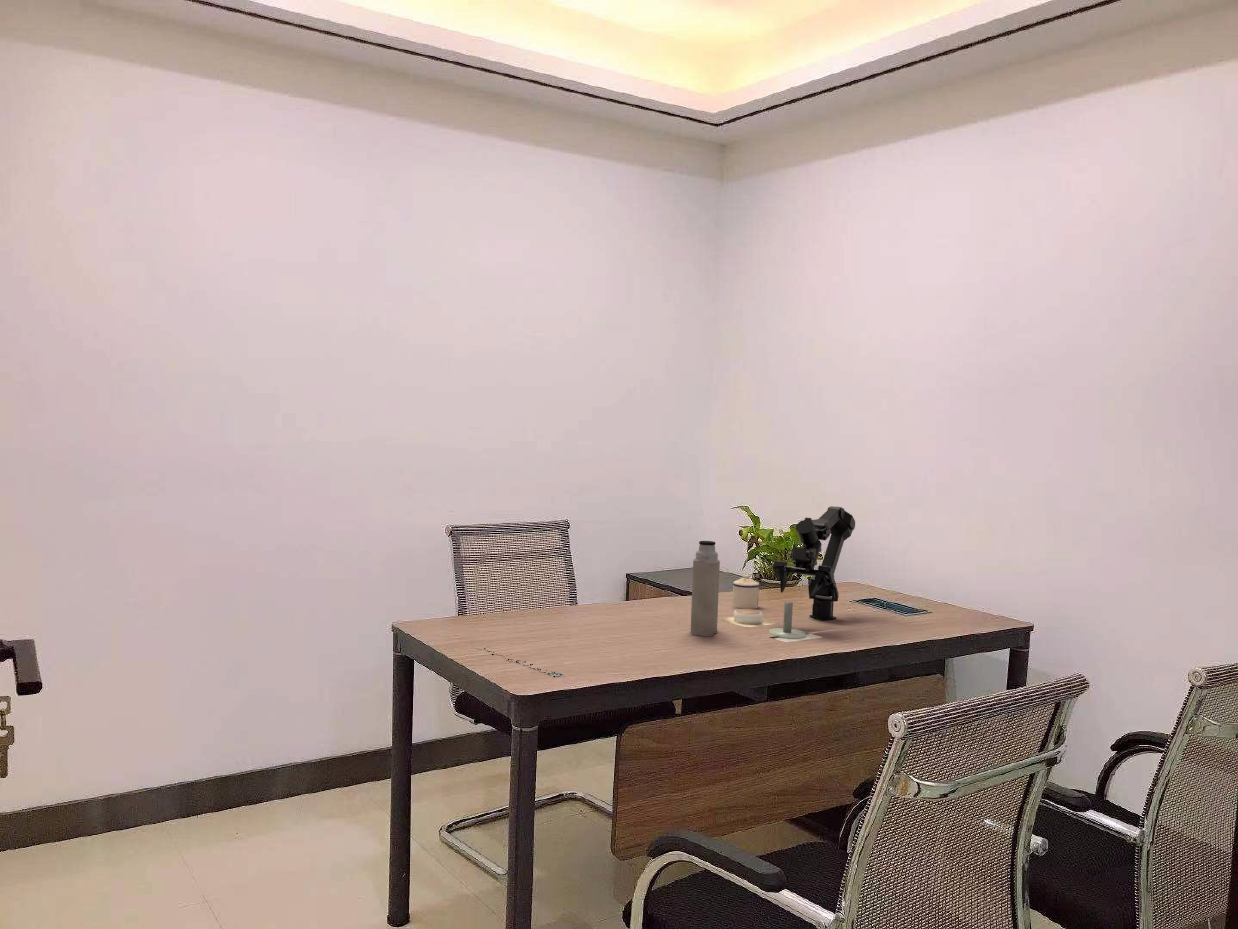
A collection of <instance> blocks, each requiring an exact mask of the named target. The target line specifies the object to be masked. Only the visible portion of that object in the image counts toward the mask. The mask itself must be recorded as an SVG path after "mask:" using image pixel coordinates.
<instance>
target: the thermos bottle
mask: <svg viewBox="0 0 1238 929" xmlns="http://www.w3.org/2000/svg"><path fill="white" fill-rule="evenodd" d="M698 544H699V546H698V550H697V551H696V552H695V555H694V556H695V558H693V562H692V580H691V582H692V587H691V614H690V633H691V635H694V634H695V635H694V636H699V637H712V636H714V635H716V634H717V632H718V619H719V618H718V613H719V612H718V611H719V592H720V590H719V589H720V588H719V587H720V567H721V564H720V563H721V562H720V561H721V560H719V559H718V556H719V554H718V552H717V551H716V541H712V540H700V541H698Z"/></svg>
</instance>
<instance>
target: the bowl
mask: <svg viewBox="0 0 1238 929" xmlns="http://www.w3.org/2000/svg"><path fill="white" fill-rule="evenodd" d="M733 617H734V621H735V622H737V623H742V624H760V623H762V619H763V611H761V610H758V609H743V608H738V609H734V610H733Z"/></svg>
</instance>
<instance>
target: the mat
mask: <svg viewBox="0 0 1238 929" xmlns="http://www.w3.org/2000/svg"><path fill="white" fill-rule="evenodd" d="M804 632H805V631H804ZM805 633H806V636H805V637H804V638H799V639H786V638H779V637H774V636H769V637H768V638H770V639H773V640H777V641H780V642H783V643H793V642H799V641H808V640H815V639H821V638H823V637H822V636H820V635H816V634H812V633H808V632H805Z"/></svg>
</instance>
